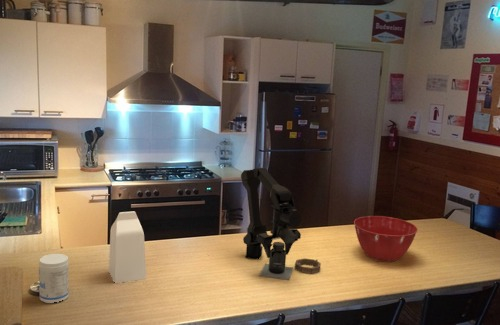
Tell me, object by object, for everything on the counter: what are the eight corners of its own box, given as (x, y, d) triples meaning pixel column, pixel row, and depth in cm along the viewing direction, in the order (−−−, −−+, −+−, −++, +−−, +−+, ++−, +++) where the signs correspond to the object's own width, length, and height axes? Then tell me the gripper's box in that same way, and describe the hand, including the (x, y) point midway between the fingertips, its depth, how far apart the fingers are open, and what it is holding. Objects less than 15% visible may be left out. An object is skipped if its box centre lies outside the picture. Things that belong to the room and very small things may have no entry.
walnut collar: (293, 271, 200) (294, 264, 200) (296, 262, 210) (297, 255, 210) (318, 275, 198) (319, 267, 197) (320, 265, 208) (321, 258, 207)
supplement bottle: (274, 275, 194) (276, 247, 192) (265, 269, 200) (266, 242, 198) (288, 272, 198) (290, 244, 196) (278, 266, 203) (280, 239, 201)
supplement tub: (34, 297, 167) (33, 257, 164) (60, 289, 174) (59, 251, 172) (48, 307, 161) (47, 266, 158) (74, 298, 168) (73, 258, 165)
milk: (114, 284, 181) (114, 218, 176) (108, 272, 191) (108, 209, 186) (146, 279, 186) (146, 215, 182) (138, 268, 196) (139, 207, 192)
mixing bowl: (377, 271, 205) (380, 237, 202) (339, 248, 230) (341, 218, 228) (427, 264, 216) (431, 231, 214) (385, 242, 242) (388, 213, 239)
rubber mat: (259, 276, 194) (259, 274, 194) (265, 265, 206) (265, 263, 206) (288, 280, 192) (289, 278, 192) (292, 268, 203) (293, 267, 203)
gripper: (272, 228, 183) (270, 267, 186) (310, 222, 193) (307, 259, 196) (256, 220, 192) (254, 257, 195) (293, 215, 202) (291, 250, 205)
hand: (277, 256), depth 198 cm, fingers open, 9 cm apart
